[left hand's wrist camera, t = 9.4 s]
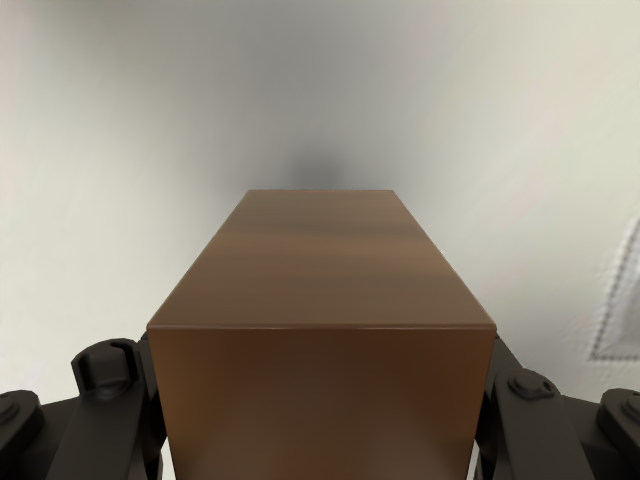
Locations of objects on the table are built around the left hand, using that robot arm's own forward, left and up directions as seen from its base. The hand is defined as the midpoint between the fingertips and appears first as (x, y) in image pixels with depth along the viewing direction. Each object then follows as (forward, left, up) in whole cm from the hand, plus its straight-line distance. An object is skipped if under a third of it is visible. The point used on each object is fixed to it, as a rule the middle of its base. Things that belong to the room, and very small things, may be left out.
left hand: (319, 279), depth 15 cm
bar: (+9, 0, -1) cm, 9 cm away
